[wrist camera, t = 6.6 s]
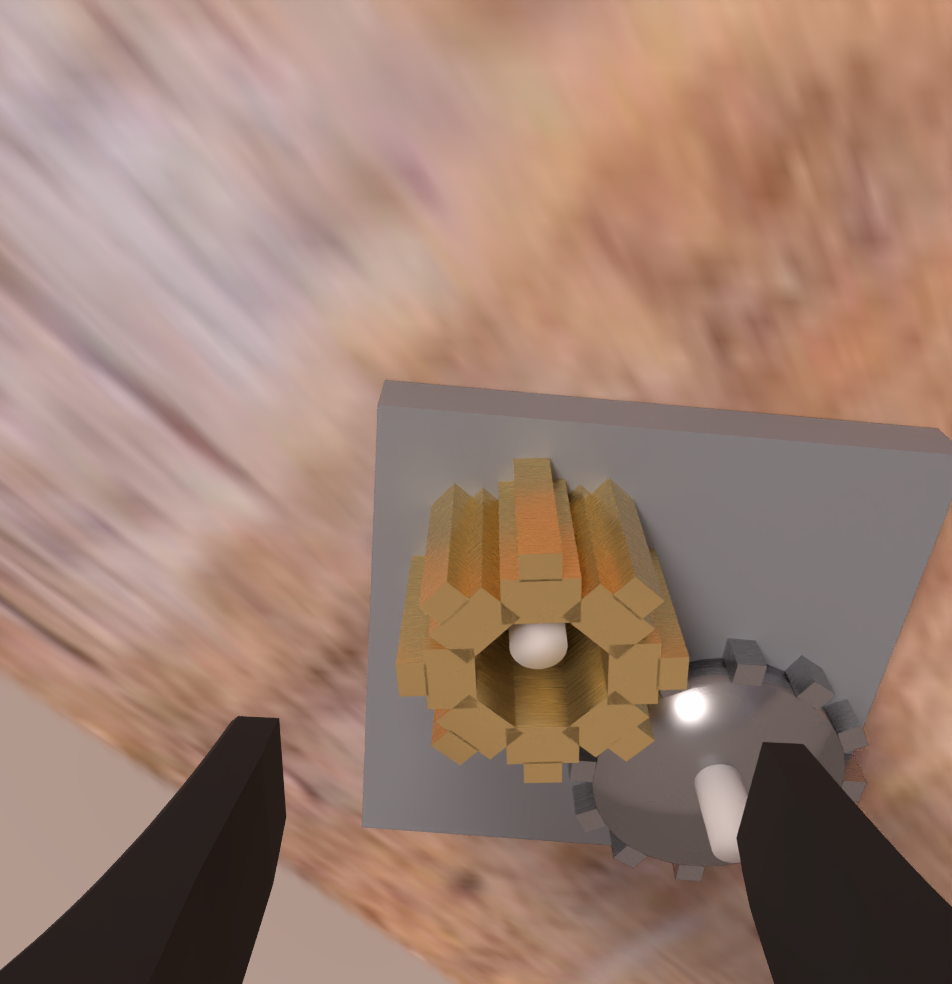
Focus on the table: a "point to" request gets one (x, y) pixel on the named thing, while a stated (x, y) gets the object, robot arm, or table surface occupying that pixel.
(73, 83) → the table surface
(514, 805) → the gear board
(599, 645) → the brass gear
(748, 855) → the robot arm
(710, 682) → the gear
